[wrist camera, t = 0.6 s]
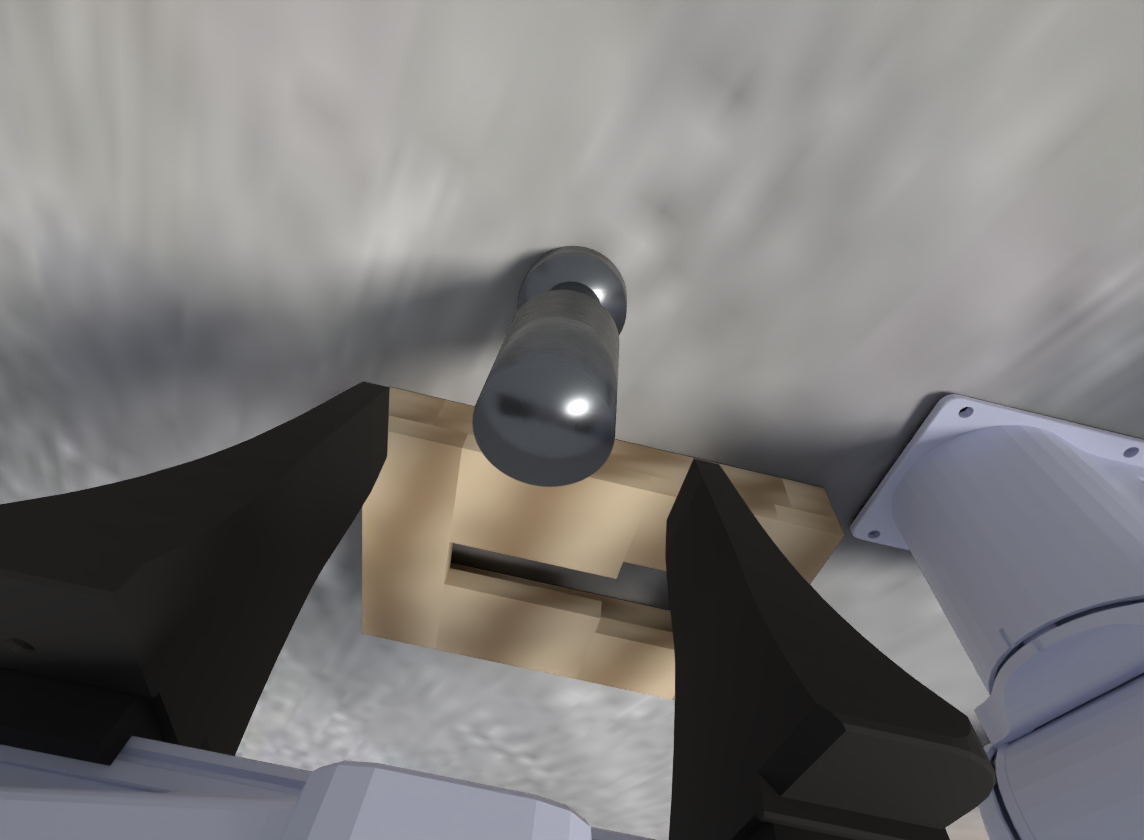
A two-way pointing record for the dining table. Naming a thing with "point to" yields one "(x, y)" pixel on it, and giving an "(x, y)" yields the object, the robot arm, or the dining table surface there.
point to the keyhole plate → (543, 549)
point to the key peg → (556, 373)
